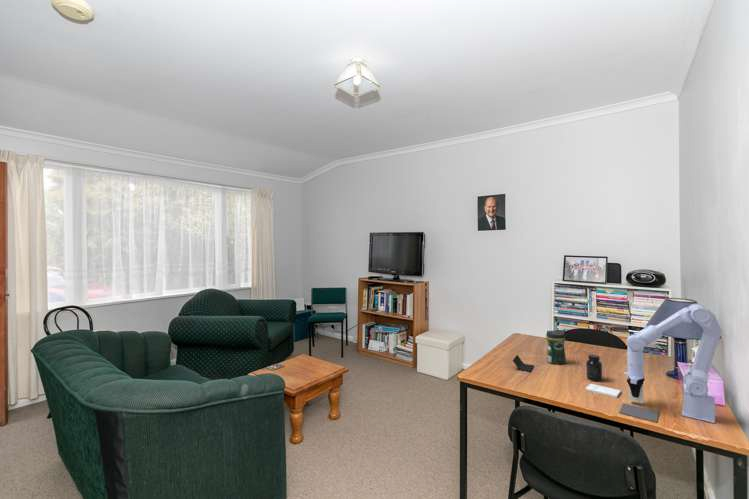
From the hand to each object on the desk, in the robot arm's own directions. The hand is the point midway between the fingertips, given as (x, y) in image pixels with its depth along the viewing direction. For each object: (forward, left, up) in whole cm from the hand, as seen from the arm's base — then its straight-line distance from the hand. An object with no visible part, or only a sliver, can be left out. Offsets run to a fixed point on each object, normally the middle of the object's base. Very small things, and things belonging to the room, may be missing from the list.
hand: (635, 395), depth 152 cm
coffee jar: (+41, -35, -4) cm, 54 cm away
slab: (0, 0, -2) cm, 2 cm away
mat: (-2, +9, -4) cm, 10 cm away
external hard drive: (+13, -6, -4) cm, 15 cm away
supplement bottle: (+19, -20, -4) cm, 28 cm away
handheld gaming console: (+52, -14, -4) cm, 54 cm away
